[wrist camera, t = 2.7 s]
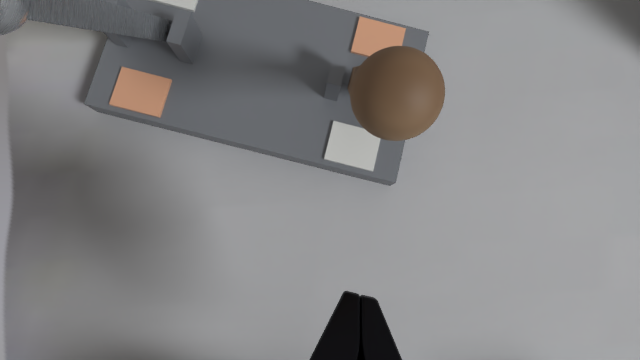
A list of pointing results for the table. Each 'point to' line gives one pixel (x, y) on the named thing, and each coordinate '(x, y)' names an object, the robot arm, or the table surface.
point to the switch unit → (255, 79)
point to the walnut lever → (396, 93)
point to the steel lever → (84, 17)
